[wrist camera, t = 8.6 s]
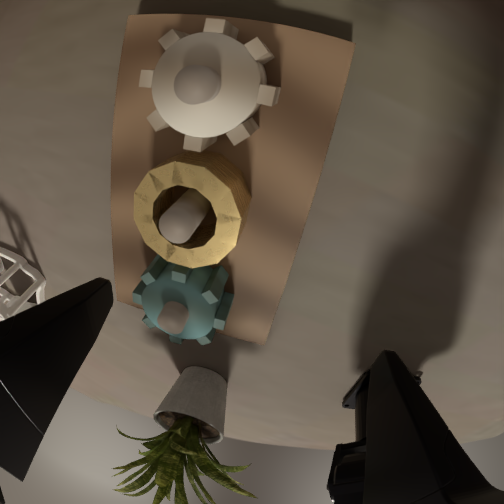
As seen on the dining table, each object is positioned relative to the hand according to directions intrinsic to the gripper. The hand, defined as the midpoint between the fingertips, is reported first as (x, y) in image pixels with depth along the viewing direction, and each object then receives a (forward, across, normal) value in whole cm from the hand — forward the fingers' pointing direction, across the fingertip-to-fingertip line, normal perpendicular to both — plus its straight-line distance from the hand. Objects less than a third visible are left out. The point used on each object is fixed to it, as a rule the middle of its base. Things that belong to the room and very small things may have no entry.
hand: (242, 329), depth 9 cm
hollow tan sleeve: (+10, +5, +1) cm, 11 cm away
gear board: (+12, +5, +1) cm, 13 cm away
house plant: (+12, +4, +23) cm, 26 cm away
